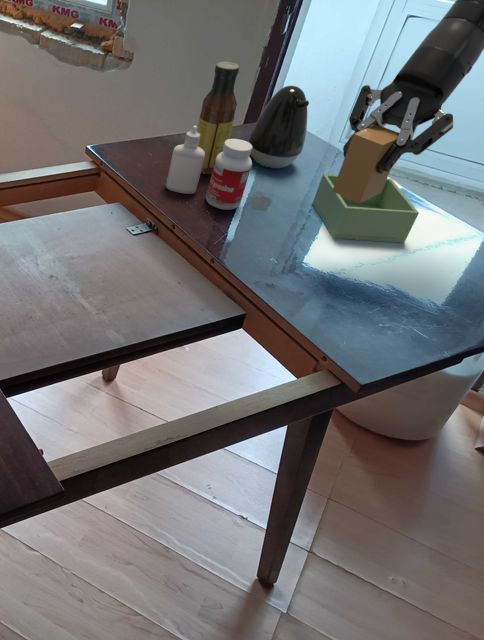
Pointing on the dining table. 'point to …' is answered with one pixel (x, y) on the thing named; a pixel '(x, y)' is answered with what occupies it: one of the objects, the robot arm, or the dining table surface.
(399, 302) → the dining table surface
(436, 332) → the dining table surface
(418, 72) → the robot arm
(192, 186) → the eye dropper bottle
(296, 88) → the black bird figurine
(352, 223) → the open box
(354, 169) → the block
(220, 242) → the dining table surface
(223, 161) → the pill bottle
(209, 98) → the sauce bottle
